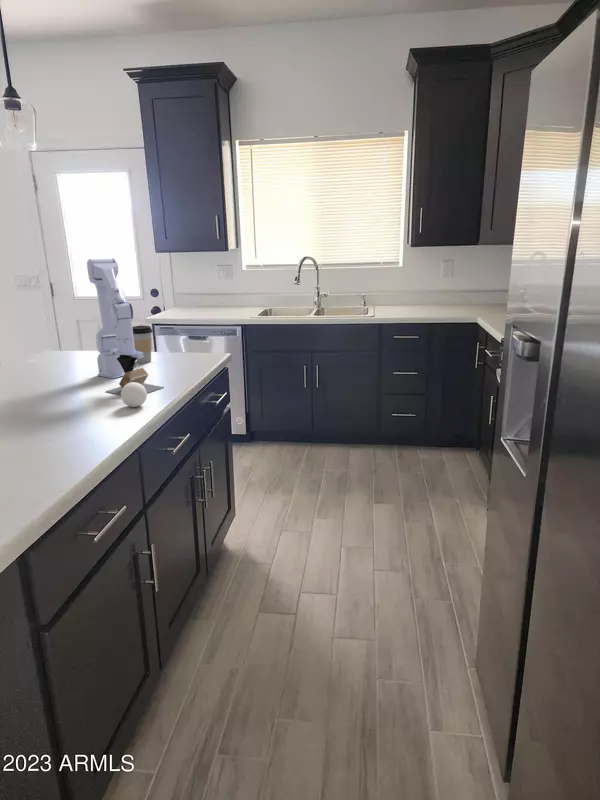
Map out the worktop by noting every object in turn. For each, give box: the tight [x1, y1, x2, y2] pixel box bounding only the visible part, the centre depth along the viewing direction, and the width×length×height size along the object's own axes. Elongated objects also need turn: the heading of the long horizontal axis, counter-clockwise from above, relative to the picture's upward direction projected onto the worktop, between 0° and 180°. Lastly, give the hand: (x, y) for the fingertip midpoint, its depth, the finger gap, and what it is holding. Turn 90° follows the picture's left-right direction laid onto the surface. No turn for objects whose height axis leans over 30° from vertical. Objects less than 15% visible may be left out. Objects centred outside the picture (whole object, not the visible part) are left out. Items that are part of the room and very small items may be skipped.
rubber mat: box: [105, 382, 165, 396], centre depth 185 cm, size 14×14×1 cm
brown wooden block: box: [118, 367, 149, 388], centre depth 185 cm, size 4×8×6 cm
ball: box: [120, 382, 148, 408], centre depth 167 cm, size 8×8×8 cm
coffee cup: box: [132, 325, 153, 364], centre depth 223 cm, size 9×9×15 cm
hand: (129, 376), depth 185 cm, fingers closed
